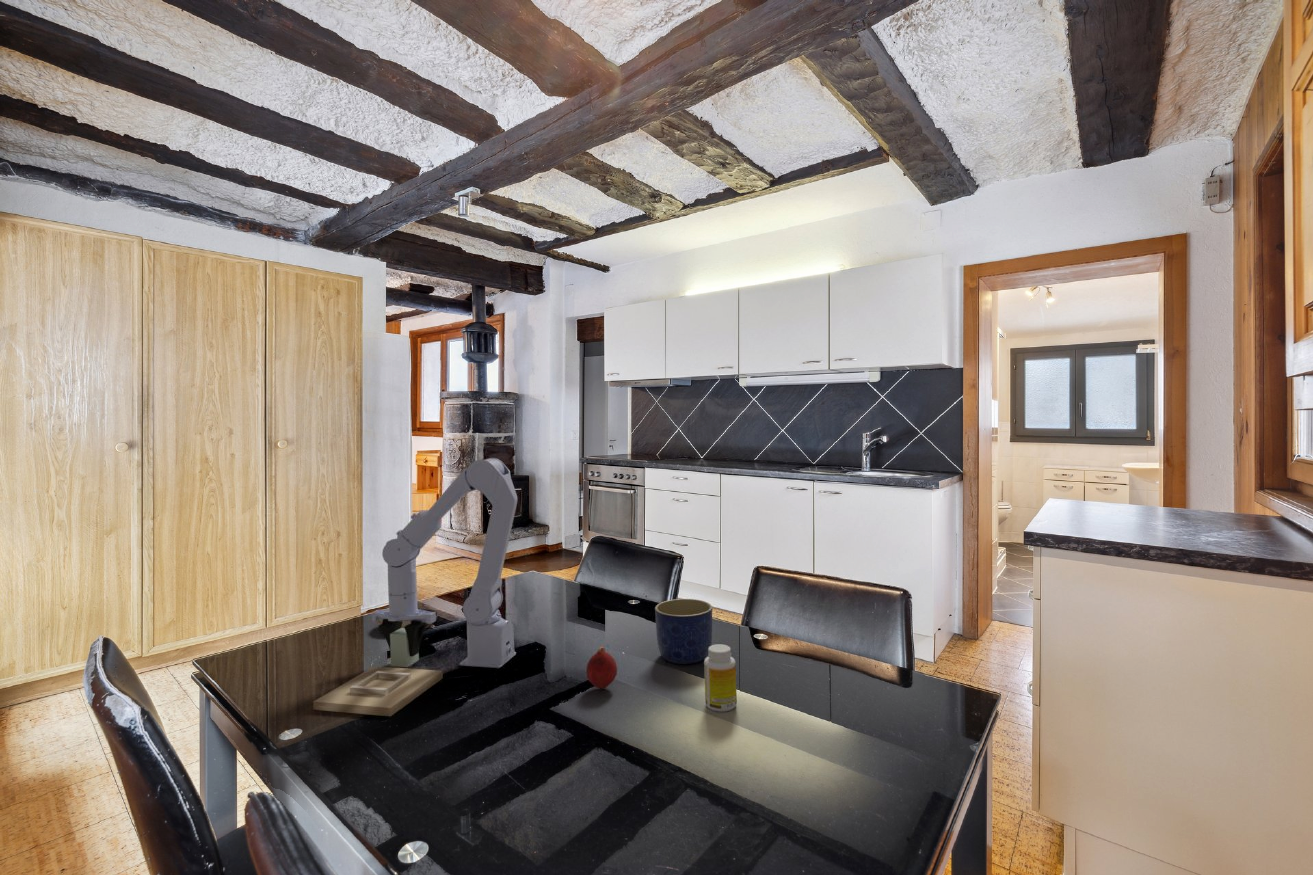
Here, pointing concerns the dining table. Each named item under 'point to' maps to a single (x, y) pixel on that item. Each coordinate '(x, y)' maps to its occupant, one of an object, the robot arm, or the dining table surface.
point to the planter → (684, 630)
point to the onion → (601, 669)
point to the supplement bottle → (720, 679)
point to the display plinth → (378, 691)
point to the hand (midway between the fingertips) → (404, 654)
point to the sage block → (401, 649)
